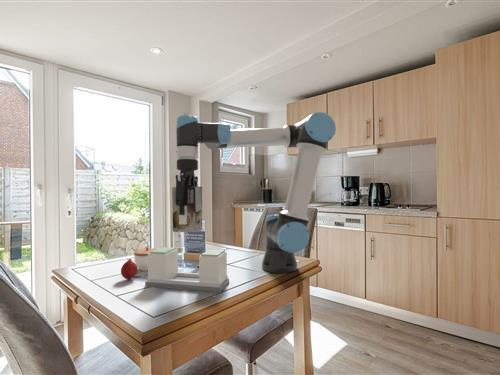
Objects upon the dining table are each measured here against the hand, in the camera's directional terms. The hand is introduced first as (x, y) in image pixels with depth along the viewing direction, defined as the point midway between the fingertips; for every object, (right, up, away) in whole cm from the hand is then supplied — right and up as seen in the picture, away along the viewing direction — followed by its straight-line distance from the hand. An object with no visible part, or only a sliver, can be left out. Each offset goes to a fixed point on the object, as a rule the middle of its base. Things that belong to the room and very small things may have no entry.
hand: (187, 222), depth 101 cm
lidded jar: (-22, -23, +20) cm, 37 cm away
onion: (-23, -23, +5) cm, 33 cm away
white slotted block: (0, -22, 0) cm, 22 cm away
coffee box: (0, -3, 0) cm, 3 cm away
